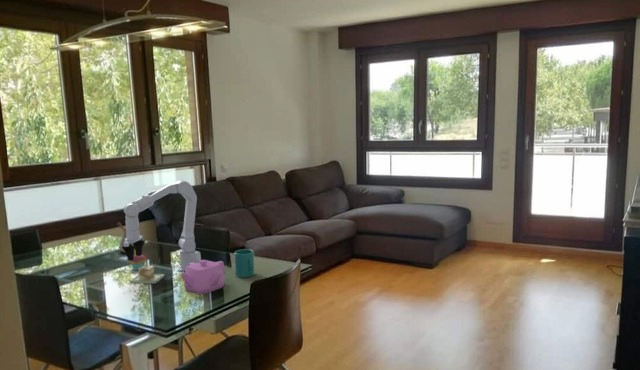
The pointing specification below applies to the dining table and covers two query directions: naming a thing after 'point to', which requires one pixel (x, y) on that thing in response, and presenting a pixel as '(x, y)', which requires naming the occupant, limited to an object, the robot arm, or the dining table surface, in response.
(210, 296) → the dining table surface
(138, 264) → the cupcake
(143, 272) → the maple cube
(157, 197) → the robot arm
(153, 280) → the grey green picture frame
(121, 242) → the coffee pot
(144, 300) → the dining table surface
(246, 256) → the cup
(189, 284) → the pink lidded box
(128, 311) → the dining table surface
